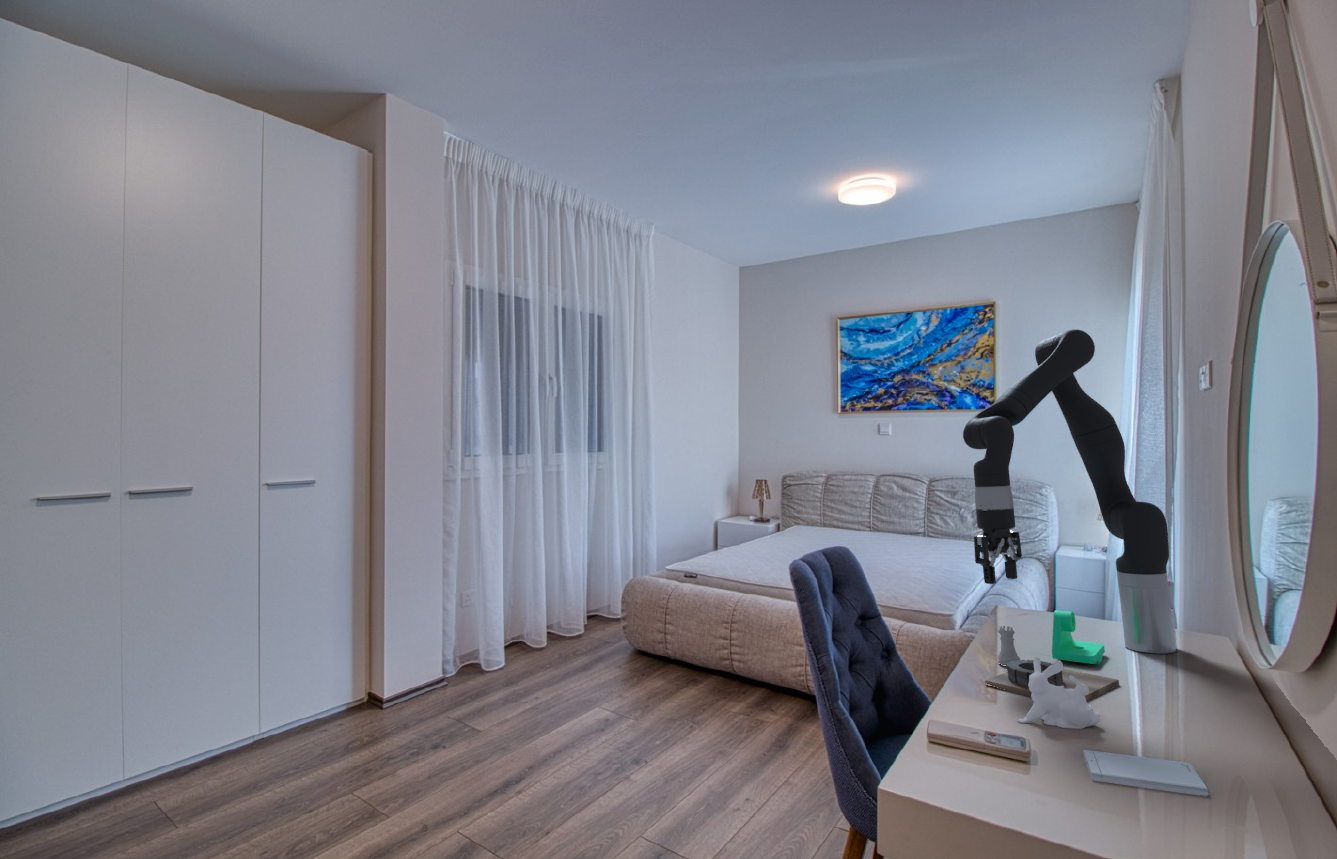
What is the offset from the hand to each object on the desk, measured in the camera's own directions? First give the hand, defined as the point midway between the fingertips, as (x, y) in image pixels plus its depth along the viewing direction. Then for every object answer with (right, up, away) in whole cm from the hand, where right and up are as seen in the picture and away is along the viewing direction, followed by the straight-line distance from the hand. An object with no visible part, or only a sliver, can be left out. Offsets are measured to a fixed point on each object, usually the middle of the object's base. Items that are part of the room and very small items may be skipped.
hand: (1001, 581), depth 137 cm
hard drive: (-8, -15, -52) cm, 54 cm away
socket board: (+2, -17, -15) cm, 23 cm away
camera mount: (+17, -18, 0) cm, 25 cm away
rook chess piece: (+1, -18, -2) cm, 18 cm away
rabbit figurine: (-7, -16, -32) cm, 36 cm away
